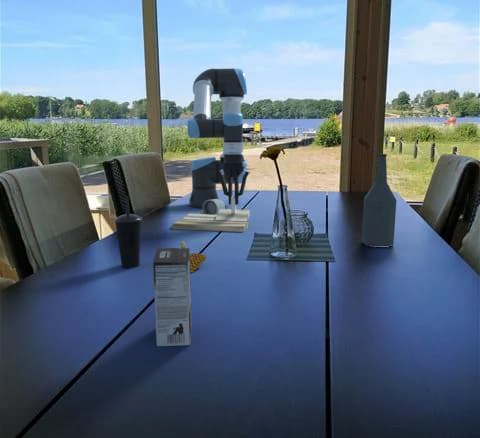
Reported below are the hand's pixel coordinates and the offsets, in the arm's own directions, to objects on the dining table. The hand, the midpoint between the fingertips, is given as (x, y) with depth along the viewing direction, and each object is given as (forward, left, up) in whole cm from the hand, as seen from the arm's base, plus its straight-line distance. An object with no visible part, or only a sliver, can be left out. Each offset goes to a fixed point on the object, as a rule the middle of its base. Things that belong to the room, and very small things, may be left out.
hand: (233, 212), depth 182 cm
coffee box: (+99, +10, -5) cm, 99 cm away
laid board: (+9, -7, -5) cm, 12 cm away
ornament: (+56, -1, -5) cm, 57 cm away
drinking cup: (+60, -17, -5) cm, 62 cm away
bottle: (+23, +54, -5) cm, 59 cm away
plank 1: (0, -14, -4) cm, 15 cm away
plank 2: (0, 0, -3) cm, 3 cm away
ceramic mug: (-14, -13, -5) cm, 20 cm away
